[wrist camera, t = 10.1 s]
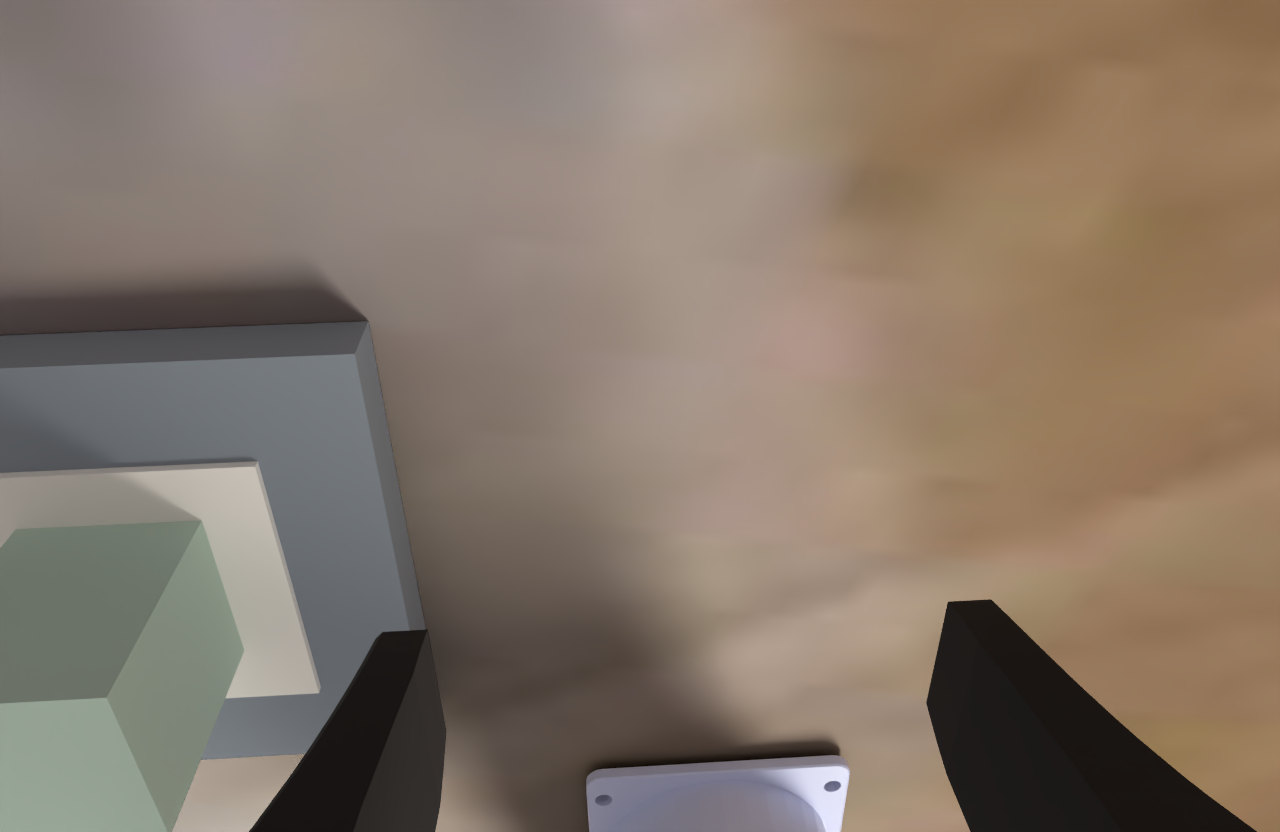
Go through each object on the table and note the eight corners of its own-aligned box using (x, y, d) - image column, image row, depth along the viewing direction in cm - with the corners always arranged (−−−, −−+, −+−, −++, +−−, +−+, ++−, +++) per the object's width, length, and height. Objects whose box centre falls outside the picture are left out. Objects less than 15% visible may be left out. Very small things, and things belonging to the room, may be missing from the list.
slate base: (439, 702, 27) (431, 752, 25) (4, 727, 26) (-29, 779, 25) (368, 321, 20) (352, 358, 19) (-208, 343, 20) (-269, 384, 18)
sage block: (244, 650, 23) (169, 836, 19) (75, 659, 23) (-38, 849, 18) (201, 520, 21) (106, 697, 17) (15, 528, 21) (-130, 710, 16)
